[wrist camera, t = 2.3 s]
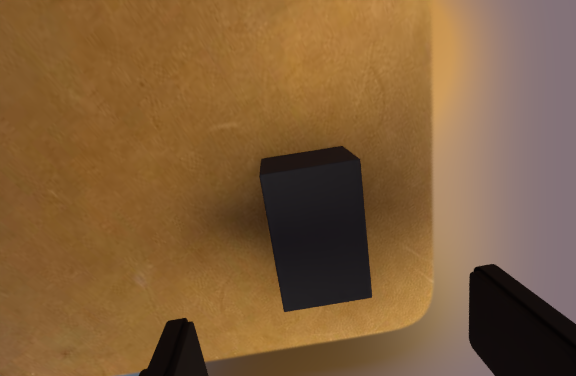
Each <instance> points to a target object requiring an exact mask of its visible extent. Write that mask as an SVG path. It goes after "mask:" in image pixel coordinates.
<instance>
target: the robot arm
mask: <svg viewBox="0 0 576 376" xmlns="http://www.w3.org/2000/svg"><path fill="white" fill-rule="evenodd" d="M469 286H470V287H469V291H470V292H469V341H470V344H471V346H472V348H473V349H474V350H475V352H476V353H477V354H478V355H479V357H480V358H481V359H482V360H483V362H484V363H485V364H486V365H487V366H488V368H489V369H490V370H491V371H492V373H493V374H494V375H495V376H576V324H575V323H573V322H572V321H571V320H569V319H568V318H567V317H565V316H564V315H563V314H561V313H560V312H558V311H557V310H556V309H554V308H553V307H552V306H550V305H549V304H548V303H546V302H545V301H544V300H542V299H541V298H540V297H538V296H537V295H536V294H534V293H533V292H531V291H530V290H529V289H528V288H526V287H525V286H524V285H522V284H521V283H520V282H518V281H517V280H515V279H514V278H513V277H511V276H510V275H509V274H507V273H506V272H505V271H503V270H502V269H501V268H499V267H498V266H496V265H494V264H490V265H484V266H479V267H475V269H474V272H472V273H470V283H469ZM139 376H208V373H207V369H206V366H205V362H204V358H203V355H202V351H201V348H200V344H199V341H198V337H197V333H196V330H195V326H194V323H193V322H192V321H191V322H188V320H187V319H186V318H182V319H176V320H170V321H168V322H167V323H166V325H165V328H164V330H163V332H162V335H161V337H160V340H159V342H158V344H157V347H156V349H155V352H154V354H153V356H152V359H151V361H150V364H149V366H148V369H144V370H142V371H141V372H140V374H139Z"/></svg>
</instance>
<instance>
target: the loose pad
mask: <svg viewBox="0 0 576 376" xmlns="http://www.w3.org/2000/svg"><path fill="white" fill-rule="evenodd" d="M260 182H261V187H262V193H263V198H264V204H265V209H266V215H267V220H268V226H269V231H270V237H271V242H272V248H273V254H274V259H275V265H276V270H277V276H278V281H279V287H280V292H281V298H282V303H283V309H284V312H288V311H294V310H300V309H306V308H312V307H318V306H324V305H330V304H337V303H343V302H349V301H355V300H361V299H367V298H372V289H371V277H370V266H369V254H368V243H367V232H366V220H365V209H364V198H363V186H362V175H361V164H360V159H359V158H358V157H356V156H355V155H354V154H352V153H351V152H350V151H348V150H347V149H346V148H344V147H343V146H339V147H333V148H327V149H320V150H314V151H308V152H301V153H295V154H289V155H283V156H276V157H270V158H264V159H261V166H260Z"/></svg>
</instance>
